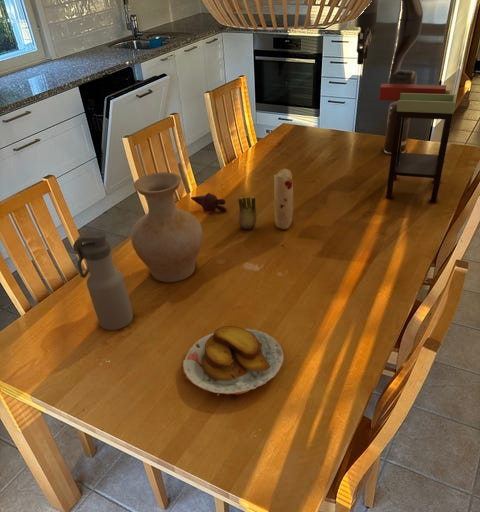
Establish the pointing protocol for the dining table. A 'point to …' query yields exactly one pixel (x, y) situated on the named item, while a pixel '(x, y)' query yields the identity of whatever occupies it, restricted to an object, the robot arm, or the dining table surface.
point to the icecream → (210, 202)
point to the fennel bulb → (247, 213)
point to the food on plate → (233, 360)
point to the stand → (417, 162)
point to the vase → (165, 230)
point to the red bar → (409, 90)
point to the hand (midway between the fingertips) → (362, 61)
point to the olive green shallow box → (426, 103)
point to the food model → (283, 198)
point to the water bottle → (103, 281)
